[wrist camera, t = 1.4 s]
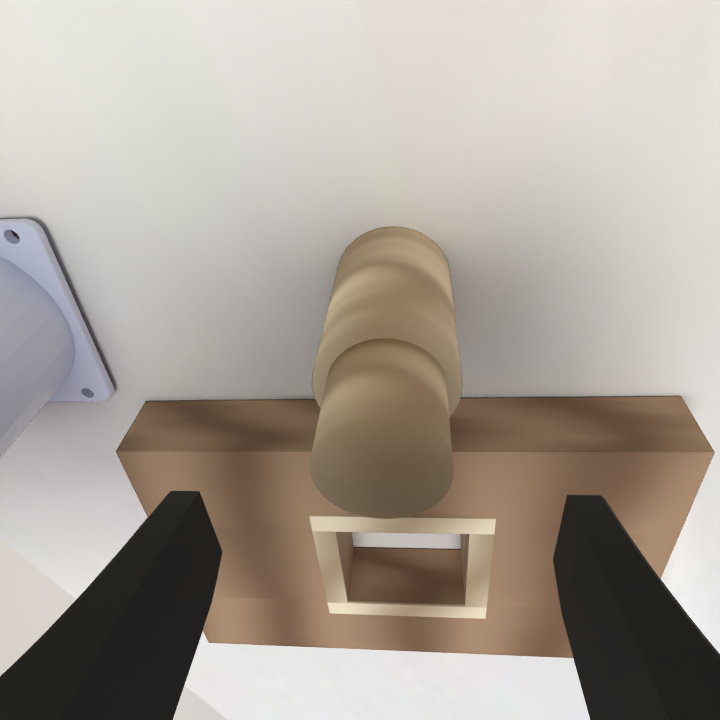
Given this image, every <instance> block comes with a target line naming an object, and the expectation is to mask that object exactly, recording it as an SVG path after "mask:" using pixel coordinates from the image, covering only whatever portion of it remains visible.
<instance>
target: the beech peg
mask: <svg viewBox="0 0 720 720" xmlns="http://www.w3.org/2000/svg"><path fill="white" fill-rule="evenodd" d="M312 389H313V393H314V397H315V399H316V401H317V404H318V405H319V407H320V408H321V410H320V415H319V420H318V424H317V429H316V434H315V439H314V444H313V449H312V454H311V459H310V474H311V478H312V480H313V482H314V484H315V486H316V488H317V489H318V491H319V492H320V493H321V494H322V495H323V496H324V497H325V498H326V499H327V500H328V501H330V502H331V503H333V504H334V505H336V506H337V507H339V508H341V509H343V510H345V511H348V512H350V513H353V514H356V515H359V516H364V517H369V518H377V519H395V518H403V517H408V516H412V515H415V514H419V513H421V512H423V511H426V510H427V509H429V508H431V507H433V506H434V505H436V504H437V503H438V502H439V501H440V500H441V499H443V498H444V496H445V495H446V494H447V492H448V491H449V489H450V487H451V484H452V481H453V474H454V473H453V459H452V446H451V433H450V420H449V417H450V416H451V415H452V414H453V412H454V411H455V409H456V408H457V405H458V403H459V401H460V398H461V394H462V375H461V366H460V357H459V348H458V339H457V330H456V322H455V313H454V304H453V295H452V286H451V277H450V270H449V265H448V262H447V259H446V257H445V255H444V254H443V252H442V251H441V249H440V248H439V247H438V246H437V245H436V244H435V243H434V241H432V240H431V239H430V238H428V237H427V236H425V235H423V234H422V233H420V232H417V231H415V230H412V229H408V228H403V227H383V228H378V229H374V230H372V231H369V232H367V233H365V234H363V235H361V236H360V237H358V238H357V239H356V240H354V241H353V242H352V243H351V244H350V245H349V246H348V248H347V249H346V250H345V252H344V253H343V255H342V257H341V259H340V262H339V265H338V269H337V273H336V278H335V282H334V286H333V290H332V294H331V298H330V303H329V307H328V311H327V315H326V319H325V323H324V328H323V332H322V336H321V340H320V344H319V348H318V353H317V357H316V361H315V365H314V369H313V373H312Z"/></svg>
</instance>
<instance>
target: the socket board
mask: <svg viewBox="0 0 720 720" xmlns="http://www.w3.org/2000/svg"><path fill="white" fill-rule="evenodd" d="M320 410H321V408H320V407H319V405H318V404H317V401H316V400H228V401H146V402H145V404H144V405H143V407H142V409H141V410H140V412H139V414H138V415H137V417H136V419H135V420H134V422H133V424H132V425H131V427H130V429H129V430H128V432H127V434H126V435H125V437H124V439H123V440H122V442H121V444H120V445H119V447H118V449H117V450H116V453H117V455H118V457H119V459H120V461H121V463H122V465H123V467H124V469H125V471H126V473H127V475H128V478H129V480H130V482H131V484H132V486H133V488H134V490H135V492H136V494H137V496H138V498H139V500H140V502H141V504H142V506H143V508H144V510H145V512H146V515H147V517H149V516H150V514H151V513H152V512H153V511H154V510H155V508H156V507H157V506H158V505H159V504H160V502H161V501H162V500H163V499H164V498H165V497H166V495H167V494H168V493H169V492H170V491H200V494H201V496H202V499H203V502H204V504H205V507H206V509H207V512H208V515H209V517H210V520H211V523H212V525H213V528H214V531H215V533H216V536H217V538H218V541H219V544H220V546H221V549H222V557H221V562H220V567H219V572H218V577H217V582H216V586H215V591H214V595H213V599H212V603H211V606H210V609H209V613H208V616H207V619H206V622H205V625H204V628H203V632H204V634H205V636H206V638H207V640H208V642H209V643H228V644H252V645H276V646H300V647H324V648H348V649H371V650H395V651H419V652H443V653H467V654H491V655H515V656H539V657H563V658H573V654H572V650H571V647H570V643H569V639H568V636H567V632H566V628H565V624H564V621H563V617H562V613H561V607H560V601H559V595H558V589H557V583H556V576H555V570H554V563H553V556H554V552H555V547H556V543H557V538H558V534H559V529H560V524H561V520H562V515H563V511H564V506H565V502H566V497H567V495H601V496H602V497H603V498H604V499H606V501H607V502H608V504H609V506H610V507H611V509H612V510H613V512H614V513H615V515H616V516H617V518H618V519H619V521H620V522H621V524H622V525H623V527H624V528H625V530H626V531H627V533H628V534H629V536H630V537H631V539H632V540H633V541H634V543H635V544H636V546H637V547H638V549H639V550H640V551H641V553H642V554H643V556H644V557H645V559H646V560H647V561H648V563H649V564H650V566H651V567H652V568H653V570H654V571H655V572H656V574H657V575H658V576H659V578H660V579H661V576H662V574H663V572H664V569H665V567H666V565H667V562H668V560H669V558H670V555H671V553H672V551H673V548H674V546H675V544H676V541H677V539H678V537H679V534H680V532H681V530H682V527H683V525H684V523H685V520H686V518H687V516H688V513H689V511H690V509H691V506H692V504H693V502H694V499H695V497H696V495H697V492H698V490H699V488H700V485H701V483H702V481H703V478H704V476H705V474H706V471H707V469H708V467H709V464H710V462H711V460H712V457H713V455H714V453H715V452H714V450H713V449H712V447H711V445H710V444H709V442H708V440H707V439H706V437H705V435H704V434H703V432H702V430H701V429H700V427H699V425H698V424H697V422H696V420H695V419H694V417H693V415H692V414H691V412H690V410H689V409H688V407H687V405H686V404H685V402H684V400H683V399H682V397H681V396H657V397H550V398H460V401H459V403H458V405H457V408H456V409H455V411H454V412H453V414H452V415H451V416H450V417H449V420H450V433H451V446H452V459H453V473H454V474H453V481H452V484H451V487H450V489H449V491H448V492H447V494H446V495H445V496H444V498H443V499H441V500H440V501H439V502H438V503H437V504H436V505H434V506H433V507H431V508H429V509H427V510H426V511H423V512H421V513H419V514H415V515H412V516H408V517H403V518H395V519H377V518H369V517H364V516H359V515H356V514H353V513H350V512H348V511H345V510H343V509H341V508H339V507H337V506H336V505H334V504H333V503H331V502H330V501H328V500H327V499H326V498H325V497H324V496H323V495H322V494H321V493H320V492H319V491H318V489H317V488H316V486H315V484H314V482H313V480H312V478H311V474H310V459H311V454H312V449H313V444H314V439H315V434H316V429H317V424H318V420H319V415H320ZM351 532H385V533H442V534H461V550H447V549H399V548H353V541H352V534H351Z"/></svg>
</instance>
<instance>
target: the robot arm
mask: <svg viewBox="0 0 720 720" xmlns="http://www.w3.org/2000/svg"><path fill="white" fill-rule="evenodd" d="M11 230H13V231H14V232H16V233H17V235H18V236H19V239H18V238H16V237H15V236H14V235H13V234H12V233H11ZM87 388H88V389H90V390H92V391H90V390H88V389H87ZM113 393H114V387H113V385H112V382H111V380H110V378H109V376H108V373H107V371H106V369H105V367H104V364H103V362H102V360H101V358H100V356H99V353H98V351H97V349H96V347H95V344H94V342H93V340H92V338H91V335H90V333H89V331H88V329H87V326H86V324H85V322H84V320H83V317H82V315H81V313H80V311H79V308H78V306H77V304H76V302H75V299H74V297H73V295H72V293H71V290H70V288H69V286H68V284H67V282H66V279H65V277H64V275H63V273H62V270H61V268H60V266H59V264H58V261H57V259H56V257H55V255H54V252H53V250H52V248H51V246H50V243H49V241H48V239H47V237H46V234H45V232H44V230H43V229H42V227H41V226H40V225H39V224H38V223H36V222H35V221H33V220H31V219H25V218H23V219H3V220H0V458H1V457H2V456H3V455H4V453H5V452H6V451H7V450H8V449H9V447H10V446H11V445H12V444H13V442H14V441H15V440H16V439H17V438H18V436H19V435H20V434H21V433H22V431H23V430H24V429H25V428H26V427H27V425H28V424H29V423H30V422H31V420H32V419H33V418H34V417H35V416H36V414H37V413H38V412H39V411H40V409H41V408H42V407H43V406H44V405H45V403H46V402H64V401H107V400H109V399H110V398H111V397H112V395H113ZM221 557H222V549H221V546H220V544H219V541H218V538H217V536H216V533H215V531H214V528H213V525H212V523H211V520H210V517H209V515H208V512H207V509H206V507H205V504H204V502H203V499H202V496H201V494H200V491H170V492H169V493H168V494H167V495H166V497H165V498H164V499H163V500H162V501H161V502H160V504H159V505H158V506H157V507H156V508H155V510H154V511H153V512H152V513H151V514H150V516H149V517H148V518H147V519H146V520H145V522H144V523H143V524H142V525H141V526H140V528H139V529H138V530H137V531H136V532H135V533H134V535H133V536H132V537H131V538H130V539H129V541H128V542H127V543H126V544H125V545H124V546H123V548H122V549H121V550H120V551H119V552H118V554H117V555H116V556H115V557H114V558H113V559H112V560H111V562H110V563H109V564H108V565H107V566H106V567H105V568H104V569H103V571H102V572H101V573H100V574H99V575H98V576H97V577H96V579H95V580H94V581H93V582H92V583H91V584H90V585H89V587H88V588H87V589H86V590H85V591H84V592H83V593H82V594H81V595H80V596H79V598H78V599H77V600H76V601H75V602H74V603H73V604H72V605H71V606H70V607H69V608H68V609H67V610H66V612H64V613H63V615H61V617H60V618H59V619H58V620H57V621H56V622H55V623H54V624H53V625H52V626H51V627H50V628H49V629H48V630H47V631H46V632H45V633H44V634H43V635H42V636H41V638H40V639H38V641H36V643H34V644H33V645H32V646H31V647H30V648H29V649H28V650H27V651H26V652H25V653H24V654H23V655H22V656H21V657H20V658H19V659H18V660H17V661H16V662H15V663H14V664H13V665H12V666H11V667H10V668H9V669H8V670H7V671H6V672H4V673H3V674H2V675H1V676H0V720H173V717H174V714H175V711H176V708H177V705H178V702H179V699H180V696H181V693H182V690H183V687H184V684H185V681H186V678H187V675H188V672H189V669H190V667H191V664H192V661H193V658H194V655H195V652H196V649H197V646H198V643H199V640H200V637H201V634H202V631H203V628H204V625H205V622H206V619H207V616H208V613H209V609H210V606H211V603H212V599H213V595H214V591H215V586H216V582H217V577H218V572H219V567H220V562H221ZM553 563H554V570H555V576H556V583H557V589H558V595H559V601H560V607H561V613H562V617H563V621H564V624H565V628H566V632H567V636H568V639H569V643H570V647H571V650H572V654H573V658H574V661H575V665H576V669H577V672H578V676H579V680H580V683H581V687H582V691H583V694H584V698H585V701H586V705H587V709H588V712H589V716H590V720H720V654H719V653H718V651H717V650H716V649H715V648H714V647H713V645H712V644H711V643H710V642H709V641H708V640H707V638H706V637H705V636H704V635H703V633H702V632H701V631H700V630H699V628H698V627H697V626H696V625H695V623H694V622H693V621H692V620H691V618H690V617H689V616H688V615H687V613H686V612H685V611H684V609H683V608H682V607H681V605H680V604H679V603H678V601H677V600H676V599H675V598H674V596H673V595H672V594H671V592H670V591H669V590H668V588H667V587H666V586H665V585H664V583H663V582H662V581H661V579H660V578H659V576H658V575H657V574H656V572H655V571H654V570H653V568H652V567H651V566H650V564H649V563H648V561H647V560H646V559H645V557H644V556H643V554H642V553H641V551H640V550H639V549H638V547H637V546H636V544H635V543H634V541H633V540H632V539H631V537H630V536H629V534H628V533H627V531H626V530H625V528H624V527H623V525H622V524H621V522H620V521H619V519H618V518H617V516H616V515H615V513H614V512H613V510H612V509H611V507H610V506H609V504H608V502H607V501H606V499H604V498H603V497H602V496H601V495H567V497H566V502H565V506H564V511H563V515H562V520H561V524H560V529H559V534H558V538H557V543H556V547H555V552H554V556H553Z"/></svg>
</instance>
